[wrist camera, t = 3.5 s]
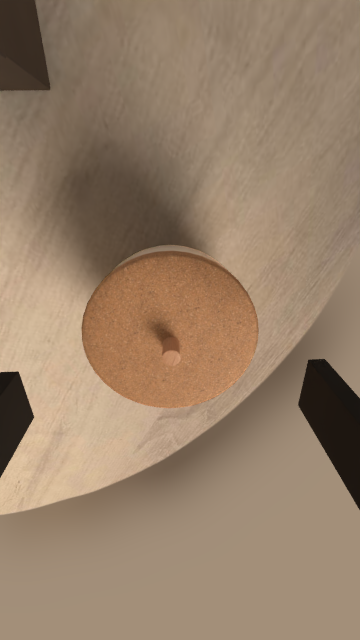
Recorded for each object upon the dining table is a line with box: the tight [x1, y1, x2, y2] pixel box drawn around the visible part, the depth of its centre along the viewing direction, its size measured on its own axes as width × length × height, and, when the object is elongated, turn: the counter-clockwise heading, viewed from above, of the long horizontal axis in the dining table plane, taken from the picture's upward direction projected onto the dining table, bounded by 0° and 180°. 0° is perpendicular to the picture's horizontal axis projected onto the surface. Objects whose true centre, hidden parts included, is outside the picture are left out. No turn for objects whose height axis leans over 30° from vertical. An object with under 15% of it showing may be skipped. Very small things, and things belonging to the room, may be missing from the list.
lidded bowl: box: [82, 245, 258, 408], centre depth 20 cm, size 11×11×9 cm
